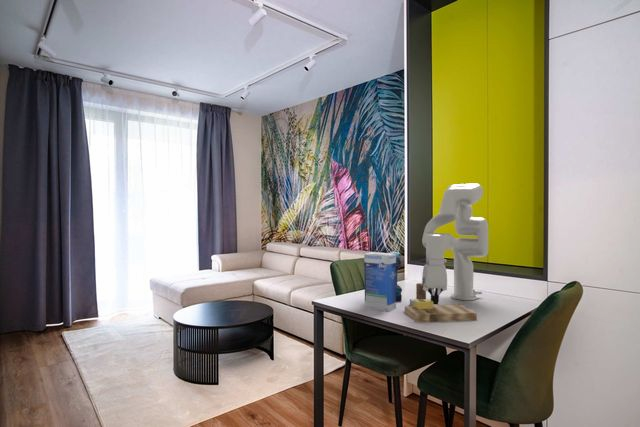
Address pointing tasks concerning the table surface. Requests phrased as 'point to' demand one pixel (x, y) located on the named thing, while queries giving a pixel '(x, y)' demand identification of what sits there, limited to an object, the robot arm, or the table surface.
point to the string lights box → (380, 281)
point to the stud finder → (423, 304)
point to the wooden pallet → (441, 313)
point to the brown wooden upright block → (420, 291)
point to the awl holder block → (412, 302)
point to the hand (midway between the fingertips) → (434, 303)
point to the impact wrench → (398, 264)
